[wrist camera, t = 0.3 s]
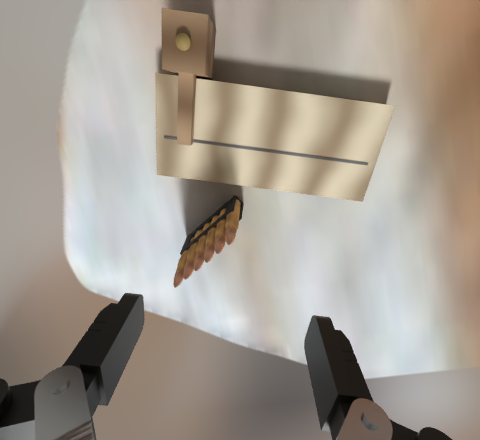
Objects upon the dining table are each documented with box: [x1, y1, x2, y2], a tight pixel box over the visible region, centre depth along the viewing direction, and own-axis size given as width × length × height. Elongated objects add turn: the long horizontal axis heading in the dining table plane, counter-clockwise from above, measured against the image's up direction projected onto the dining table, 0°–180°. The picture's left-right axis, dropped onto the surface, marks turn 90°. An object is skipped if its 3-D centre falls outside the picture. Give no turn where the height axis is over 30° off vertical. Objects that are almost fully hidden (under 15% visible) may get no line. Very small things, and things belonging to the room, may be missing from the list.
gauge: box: [162, 8, 216, 146], centre depth 30 cm, size 12×4×7 cm, turn 173°
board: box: [156, 73, 395, 201], centre depth 34 cm, size 28×12×2 cm, turn 83°
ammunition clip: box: [174, 196, 243, 288], centre depth 35 cm, size 11×2×12 cm, turn 133°
